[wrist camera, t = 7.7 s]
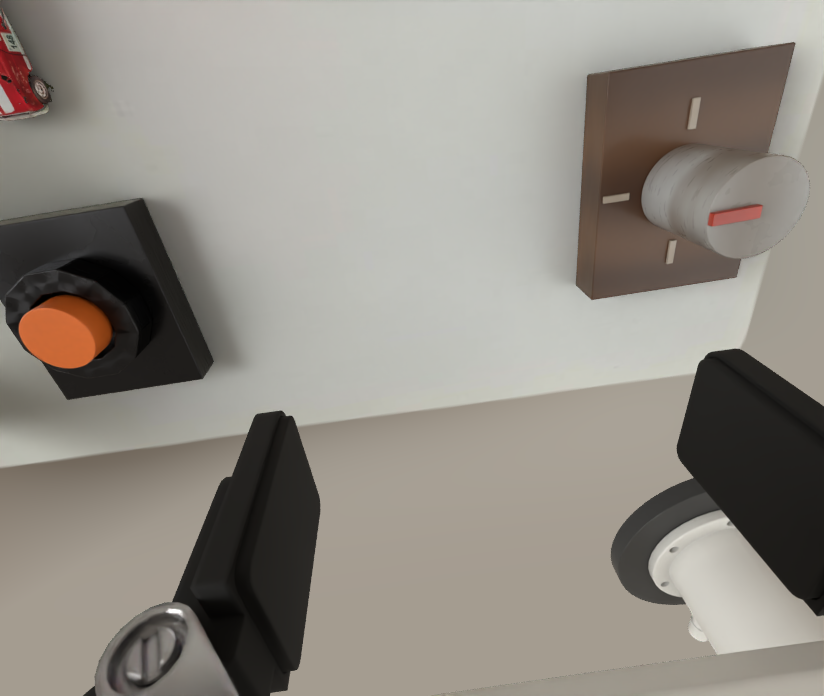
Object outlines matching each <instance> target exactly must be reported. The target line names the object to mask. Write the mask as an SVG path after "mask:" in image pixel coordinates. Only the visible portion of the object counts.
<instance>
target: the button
mask: <svg viewBox="0 0 824 696" xmlns="http://www.w3.org/2000/svg"><path fill="white" fill-rule="evenodd" d="M19 334H20V337H21V339H22V341H23V343H24V345H25V346H26V347H27V349H28V350H29V351H30V352H31V353H32V354H33V355H35V356H36V357H37V358H39V359H40V360H42V361H44V362H46V363H48V364H50V365H53V366H56V367H61V368H78V367H82V366H84V365H86V364H88V363H89V362H91V361H92V360H93V359H94V358H95V357H96V356H97V355H98V354H99V353H100V352H101V351H103V350H104V349H105V348H106V347H107V346H108V345H109V343H110V342H111V340H112V335H113V330H112V325H111V323H110V321H109V319H108V317H107V316H106V314H105V313H104V312H103V311H102V310H101V309H100V308H99V307H97V306H96V305H95V304H93V303H92V302H90V301H88V300H86V299H84V298H81V297H78V296H73V295H59V296H55V297H52V298H50V299H49V300H47V301H45V302H44V303H42V304H40V305H39V306H37V307H35V308H34V309H32V310H30V311H29V312H27V313H26V314H25V315H24V316H23V317H22V319H21V321H20V324H19Z"/></svg>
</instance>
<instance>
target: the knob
mask: <svg viewBox="0 0 824 696" xmlns="http://www.w3.org/2000/svg"><path fill="white" fill-rule="evenodd" d="M809 192H810V181H809V176H808V173H807V171H806V170H805V168H804V166H803V165H802V164H801V163H800V162H799V161H797V160H796V159H794V158H792V157H789V156H784V155H778V154H770V153H763V152H756V151H749V150H741V149H734V148H727V147H719V146H712V145H705V144H687V145H683V146H680V147H678V148H676V149H674V150H672V151H670V152H669V153H667V154H666V155H665V156H663V157H662V158H661V159H660V160H659V161H658V162H657V163H656V164H655V166H654V167H653V168H652V170H651V171H650V173H649V174H648V176H647V178H646V181H645V183H644V186H643V190H642V198H641V202H642V208H643V211H644V214H645V216H646V217H647V219H648V220H649V221H650V222H651V223H653V224H654V225H656V226H658V227H660V228H662V229H664V230H667V231H669V232H671V233H673V234H675V235H678V236H680V237H682V238H684V239H686V240H689V241H691V242H693V243H695V244H697V245H700V246H702V247H704V248H706V249H708V250H711V251H713V252H715V253H717V254H719V255H722V256H724V257H727V258H733V259H741V258H748V257H752V256H755V255H758V254H760V253H763V252H765V251H767V250H768V249H770V248H772V247H773V246H774V245H776V244H777V243H779V242H780V241H781V240H782V239H783V238H784V237H785V236H786V235H787V234H788V233H789V232H790V231H791V230H792V229H793V228H794V226H795V225H796V224H797V222H798V221H799V219H800V217H801V216H802V214H803V212H804V210H805V207H806V205H807V202H808V198H809Z"/></svg>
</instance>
